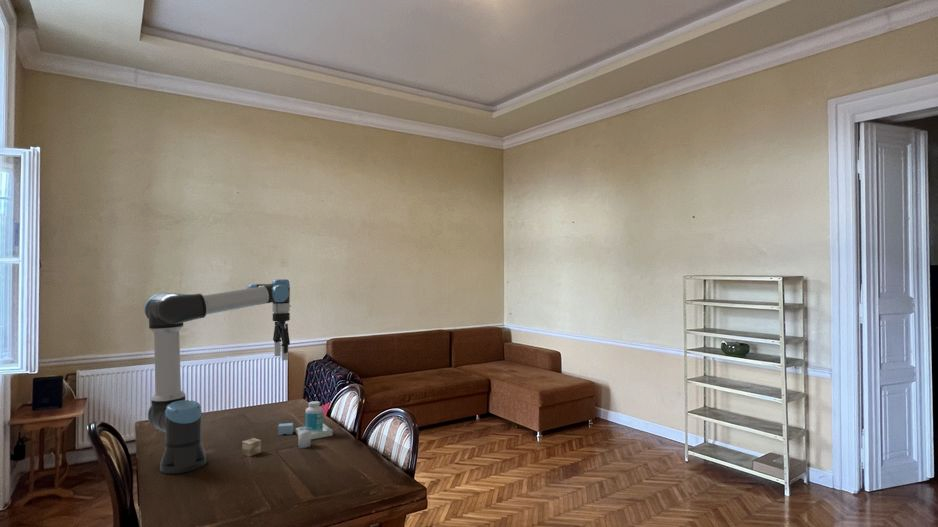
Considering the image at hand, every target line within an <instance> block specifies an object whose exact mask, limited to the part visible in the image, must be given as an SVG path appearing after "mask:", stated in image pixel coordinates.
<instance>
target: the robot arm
mask: <svg viewBox="0 0 938 527" xmlns="http://www.w3.org/2000/svg"><path fill="white" fill-rule="evenodd" d="M290 285H291V284H290V281H289V279H282V278H281V279H273V280H272V283H254V284H248V286H247V287H246V288H243V289H238V290H229V291H224V292H218V293H211V294H205V295H204V294H202V293H192V294H189V293H188V294H184V293H173V292H172V293H171V292H161V293H157V294H154V295H152V296H151V297H150V298H148V300H147V301H145V302H146V303H145V305H144V313H145V316H146V318H147V319H148V329H149V330H150V331H151V332H152V333H153V346H154V347H153V348H154V349H153V350H154V351H153V352H154V380H155V381H154V382H155V394H154V395H153V396H152V397H151V398H150V400H151V401H150V402H151V406H150V407H149V408H148V410H147V420H148V422H149V424H150V426H152V427H153V428H154V429H156V430H157V431H160V432H163V433H165V449H164V451H163V455H162V457H161V459H160V460H161V461H160V463H159V472H161V473H163V474H172V475H174V474H181V473H187V472H191V471H196V470H197V469H199V468H200V469H201V468H202V467H204V466H205V465H206V463H207V455H206V452H205V450H204V447H203V444H202V413H203V411H202V406H201V403H199V402H197V401H195V400H190V399H189V400H187V399H186V393H185V392H183V391H182V386H181V382H182V381H181V351H180V349H181V348H180V345H181V344H180V330H181V329H182V328H184V323H187V322H191V321H194V320H200V319H204V318H206V316H207V315H212V314H218V313H223V312H227V311H233V310H238V309H244V308H248V307H255V306H260V305H265V304H270V303H271V304H272V305H271V306H272V312H273V313H272V322H274V329H273V337H272V341H273V343H274V344H273V345H274V346H273V348H274V349H273V350H274V353H273V354H274V357H280V356H281V361H289V345H291V341H290V333H289V324H288V323H286V322H289V321H290V320H291V319H290V318H291V315H290V311H291V310H290V307H292V305H291V303H290V302H291V300H290V299H291V297H290V296H291V286H290Z"/></svg>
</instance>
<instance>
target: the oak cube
mask: <svg viewBox="0 0 938 527" xmlns="http://www.w3.org/2000/svg"><path fill="white" fill-rule="evenodd" d="M241 446H242V450H241V452H242V453H241V454H242V455H245V456H247V457H251V456H254V455H257V454H261V453H262V440H261V439H257V438H256V437H251V438H248V439H246V440H242V444H241Z"/></svg>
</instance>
